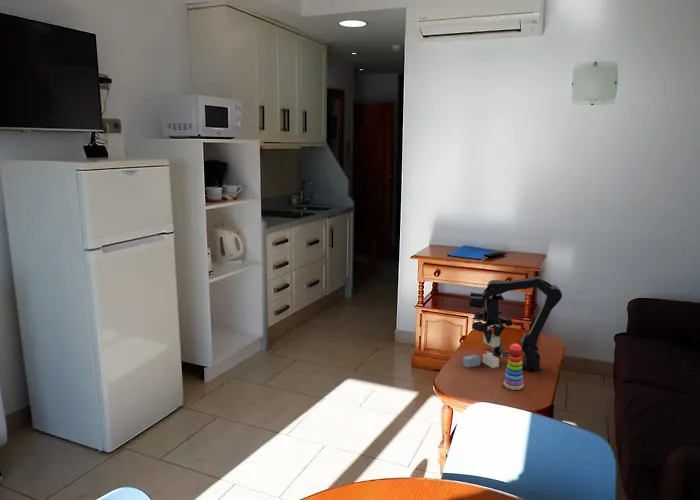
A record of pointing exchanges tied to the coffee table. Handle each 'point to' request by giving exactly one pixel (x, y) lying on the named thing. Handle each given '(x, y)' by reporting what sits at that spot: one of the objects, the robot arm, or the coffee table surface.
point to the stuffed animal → (498, 351)
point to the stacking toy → (514, 369)
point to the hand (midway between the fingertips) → (491, 342)
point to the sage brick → (492, 341)
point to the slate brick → (471, 361)
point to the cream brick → (490, 360)
